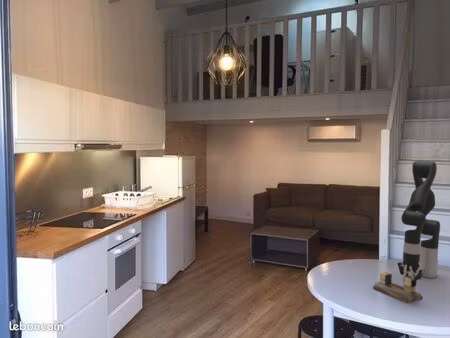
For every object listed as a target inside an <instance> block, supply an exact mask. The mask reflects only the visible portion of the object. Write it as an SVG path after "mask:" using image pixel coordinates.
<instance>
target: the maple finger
mask: <svg viewBox="0 0 450 338" xmlns="http://www.w3.org/2000/svg"><path fill="white" fill-rule="evenodd" d="M403 287H404V291H406V292H409V293H410V292H414V291H416V292H417V285H416V286H415V287H412V275H411V274H409V275H408V276H406V277H404V276H403Z"/></svg>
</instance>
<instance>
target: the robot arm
mask: <svg viewBox="0 0 450 338" xmlns="http://www.w3.org/2000/svg"><path fill="white" fill-rule="evenodd" d="M411 171H412V177H413V181H414V186H415V189H414V190H413V191H412V193H411V196H410V200H409V203H408V205H407V206H406V208H405V210H403V213H402V214H401V217H400V218H401V223H402V224H404V225H406V226H412V227H415V229H407V230H405V231H404V240H403V241H404V242H403V246H402V247H403V251H402V261H399V262H397V266H398V271H399V274H400V275H402V276H403V278H404V277H406V276H410V275H412V287H415V286H416V287H417V281H419V280H421V279H422V277H424V278H428V279H436V278H437V277H438V269H439V266H438V265H439V259H438V258H439V256H438V255H439V242H440V241H439V239H440V231H441V223H440V221H439V220H436V219H435V220H434V219H427V218H426V217H427V216H428V215H429V214H430V213H431V212H432V211H433V209H434V208H435V206H436V197H435V196H436V195H435V193H434V191H433V190H432V189H431V188H432V185H433V183H434V180H435V178H436V175H437V163H436V162H435V161H430V160H415V161H413V163H412V170H411ZM424 179H425V180H424ZM422 235H424V236H430V237H431V238H428V239H423V240H421V236H422Z"/></svg>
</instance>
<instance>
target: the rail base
mask: <svg viewBox="0 0 450 338" xmlns="http://www.w3.org/2000/svg"><path fill="white" fill-rule="evenodd" d="M392 277H393V275H392V272H389V271H383V272H380V273H379V281H378V282H377V281H376V282H375V284H374V285H373V286H372V289H373V290H375V291H376V292H380V293H381V294H382V293H383V294H385V295H387V296H389V297H391V298H394V299H396V300H398V301H400V302H403V303H405V304H409V303H412V302H416V301H420V300H423V297H424V296H423V295H422V293H421V292H418V291H417V290H416V291H414V292H410V293H409V292H406V291H404V285H400V284H398V283H395V282H393V278H392Z"/></svg>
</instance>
